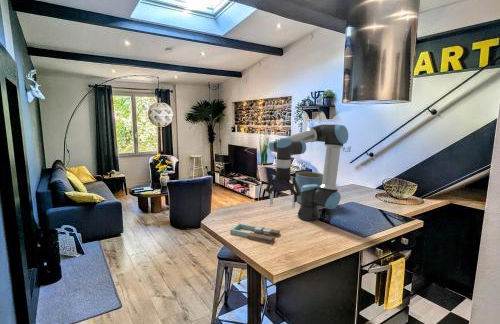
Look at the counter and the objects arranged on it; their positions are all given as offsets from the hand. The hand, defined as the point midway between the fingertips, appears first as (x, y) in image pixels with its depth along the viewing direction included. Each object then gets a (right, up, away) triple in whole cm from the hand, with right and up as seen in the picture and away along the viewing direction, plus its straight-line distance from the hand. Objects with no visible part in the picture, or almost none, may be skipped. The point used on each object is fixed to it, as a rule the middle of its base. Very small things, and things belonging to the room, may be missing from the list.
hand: (282, 206), depth 147 cm
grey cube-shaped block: (-13, -18, +9) cm, 24 cm away
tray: (-21, -18, +13) cm, 31 cm away
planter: (+32, -10, +77) cm, 84 cm away
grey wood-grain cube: (-8, -18, +6) cm, 21 cm away
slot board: (-10, -19, +7) cm, 23 cm away
